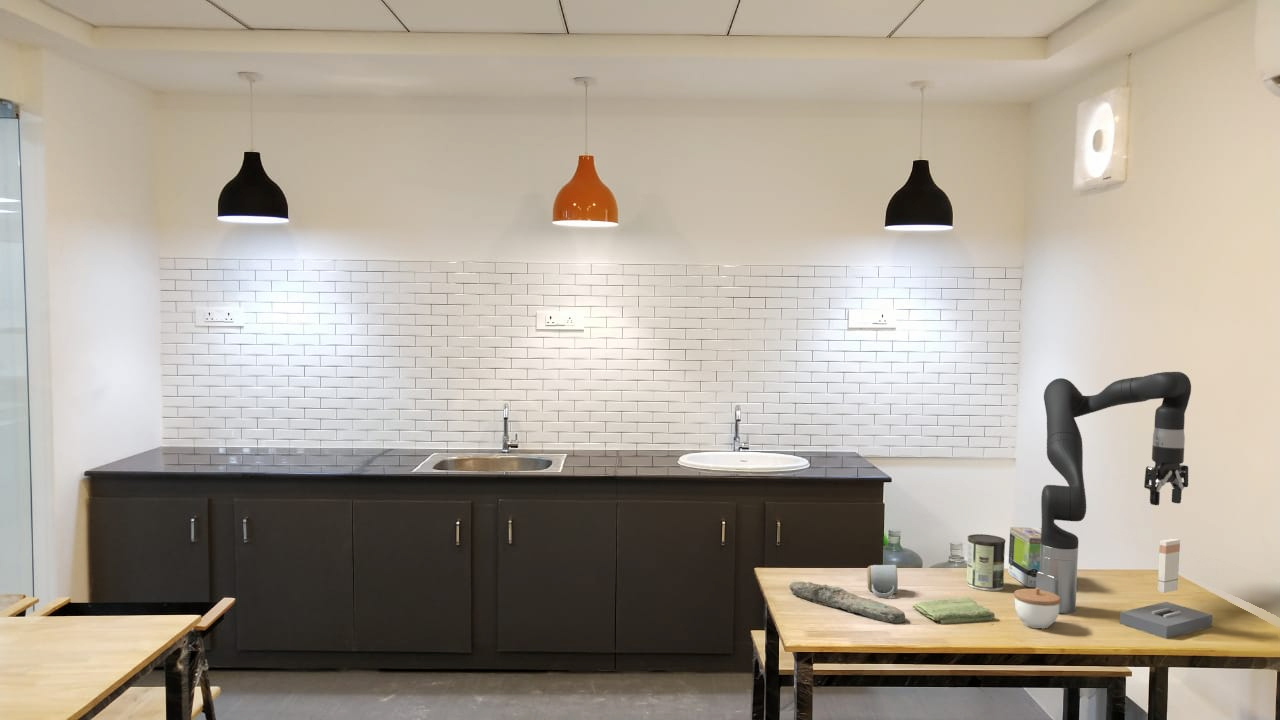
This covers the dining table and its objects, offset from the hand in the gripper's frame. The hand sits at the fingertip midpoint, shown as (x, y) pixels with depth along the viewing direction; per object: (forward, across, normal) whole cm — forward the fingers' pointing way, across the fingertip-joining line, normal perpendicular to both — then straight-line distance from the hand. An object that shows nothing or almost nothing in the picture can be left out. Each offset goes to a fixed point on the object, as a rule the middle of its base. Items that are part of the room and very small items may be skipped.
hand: (1165, 503), depth 250 cm
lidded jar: (+28, -46, 0) cm, 54 cm away
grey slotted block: (+28, -14, -12) cm, 34 cm away
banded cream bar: (+20, -14, -12) cm, 27 cm away
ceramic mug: (+28, -66, +36) cm, 80 cm away
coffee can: (+28, -33, +31) cm, 53 cm away
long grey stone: (+29, -83, +29) cm, 93 cm away
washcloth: (+29, -61, +14) cm, 68 cm away
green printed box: (+28, -15, +30) cm, 44 cm away
